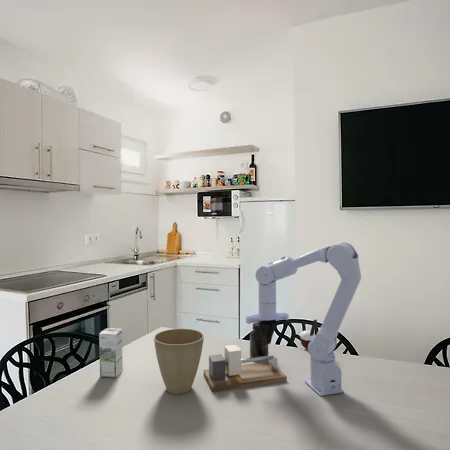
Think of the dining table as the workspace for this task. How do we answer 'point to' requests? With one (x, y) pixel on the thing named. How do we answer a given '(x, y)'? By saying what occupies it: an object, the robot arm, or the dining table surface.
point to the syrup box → (110, 352)
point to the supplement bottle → (257, 342)
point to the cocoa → (308, 335)
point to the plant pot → (178, 357)
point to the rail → (271, 359)
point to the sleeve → (233, 360)
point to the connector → (217, 367)
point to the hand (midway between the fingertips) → (267, 342)
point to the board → (247, 377)
